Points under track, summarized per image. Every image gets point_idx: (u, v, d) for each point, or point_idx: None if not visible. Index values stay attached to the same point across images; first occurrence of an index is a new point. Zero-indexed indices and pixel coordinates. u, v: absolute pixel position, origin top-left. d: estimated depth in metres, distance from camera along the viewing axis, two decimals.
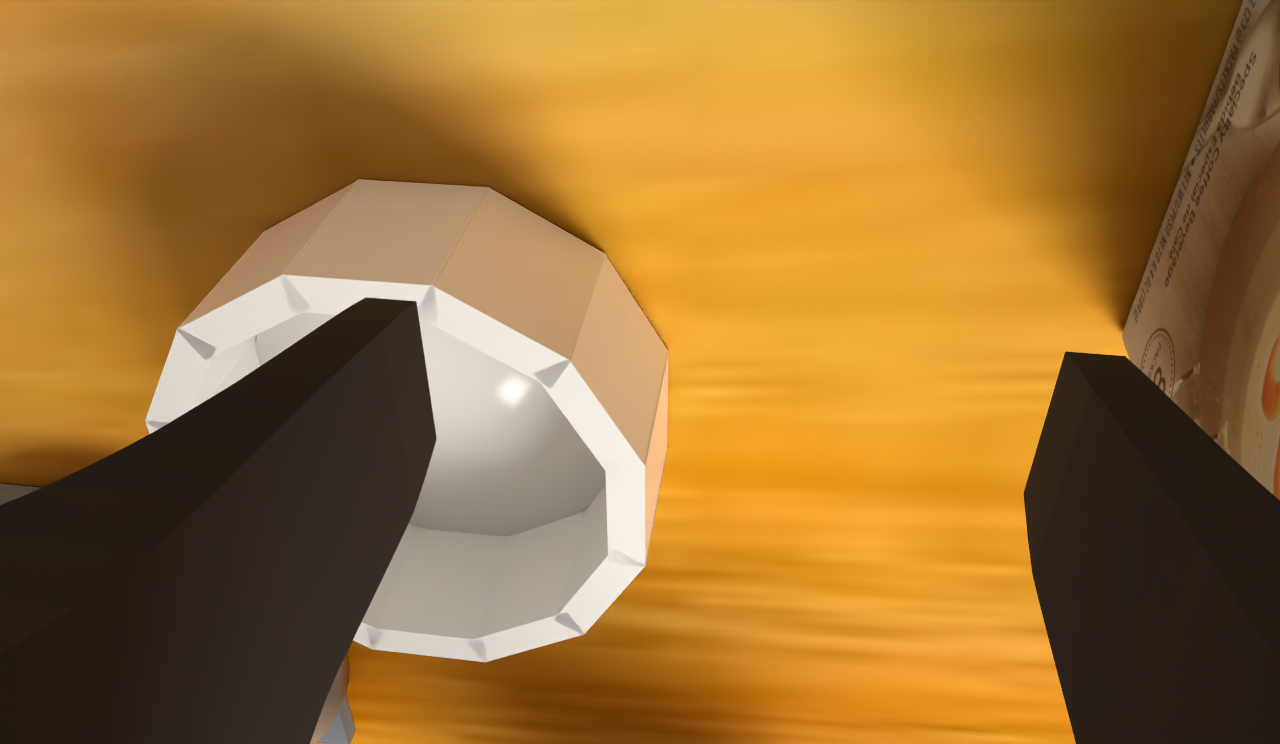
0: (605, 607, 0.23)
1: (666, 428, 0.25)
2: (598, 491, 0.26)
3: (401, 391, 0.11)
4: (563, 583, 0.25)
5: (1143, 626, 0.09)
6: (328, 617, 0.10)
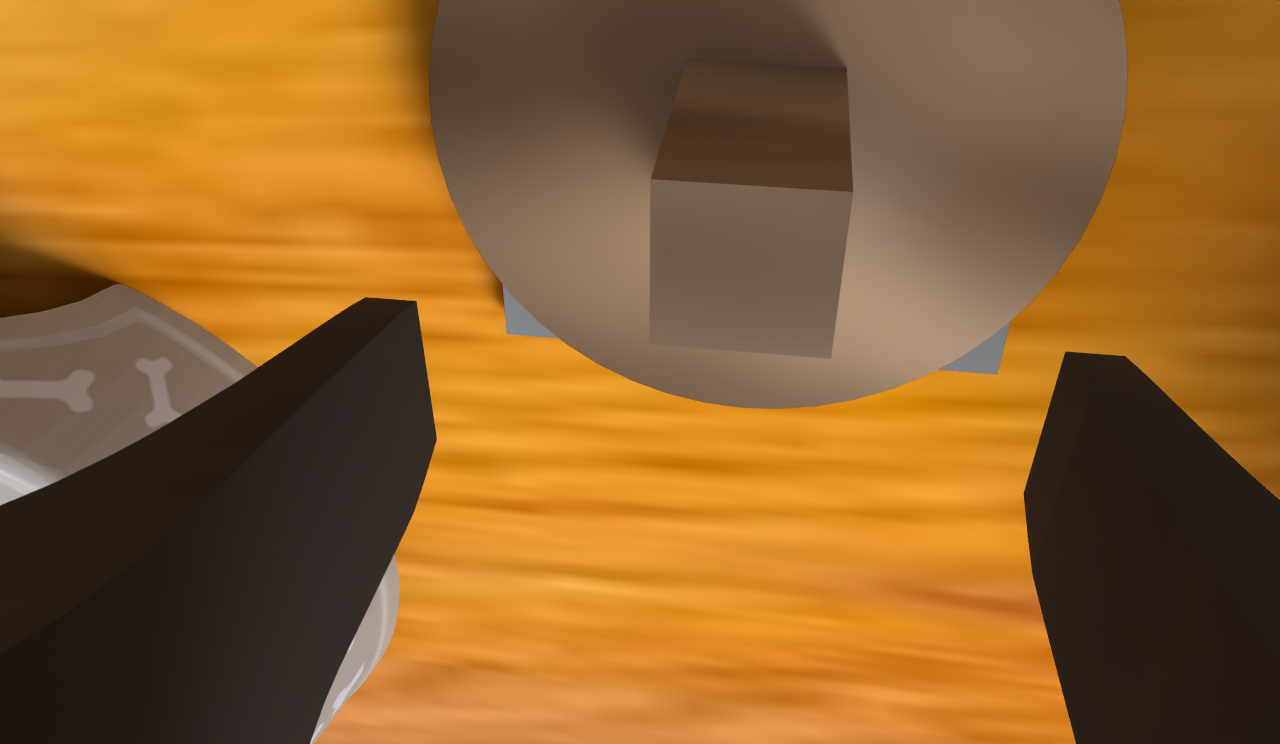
0: None
1: None
2: None
3: (401, 391, 0.11)
4: None
5: (1144, 626, 0.09)
6: (328, 617, 0.10)
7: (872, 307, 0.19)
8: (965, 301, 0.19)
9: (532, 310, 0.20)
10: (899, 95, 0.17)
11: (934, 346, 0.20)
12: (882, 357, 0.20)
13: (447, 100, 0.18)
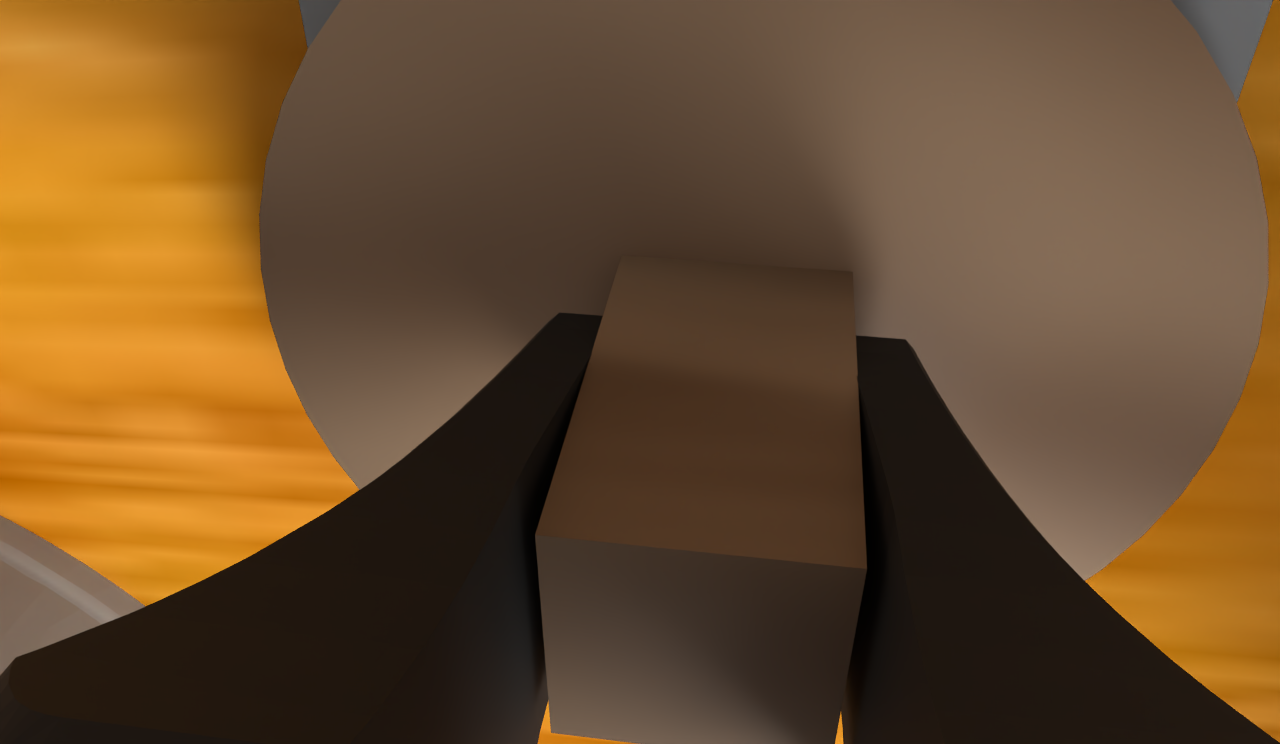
0: None
1: None
2: None
3: None
4: None
5: (870, 598, 0.09)
6: None
7: None
8: None
9: None
10: (927, 308, 0.12)
11: None
12: None
13: (290, 296, 0.13)
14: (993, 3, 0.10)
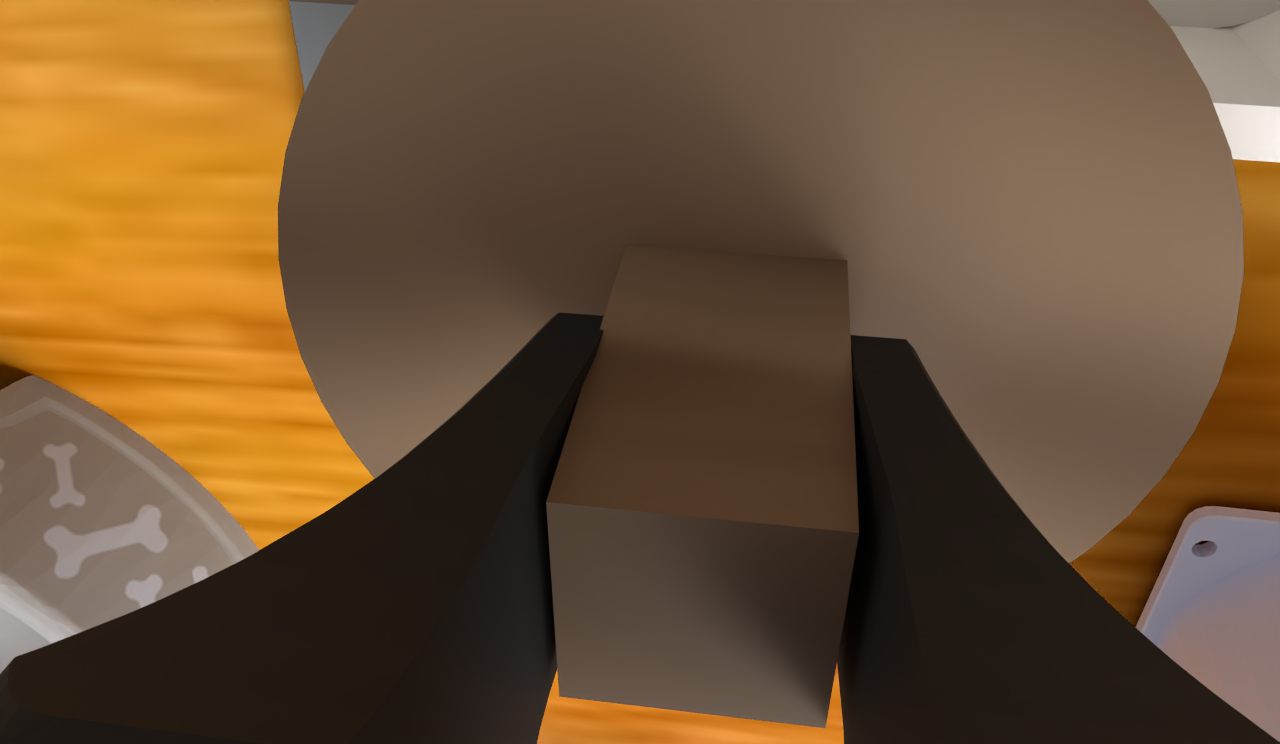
0: None
1: None
2: None
3: None
4: None
5: (872, 598, 0.09)
6: (546, 641, 0.10)
7: None
8: None
9: None
10: (919, 296, 0.12)
11: None
12: None
13: (306, 285, 0.13)
14: (980, 3, 0.10)
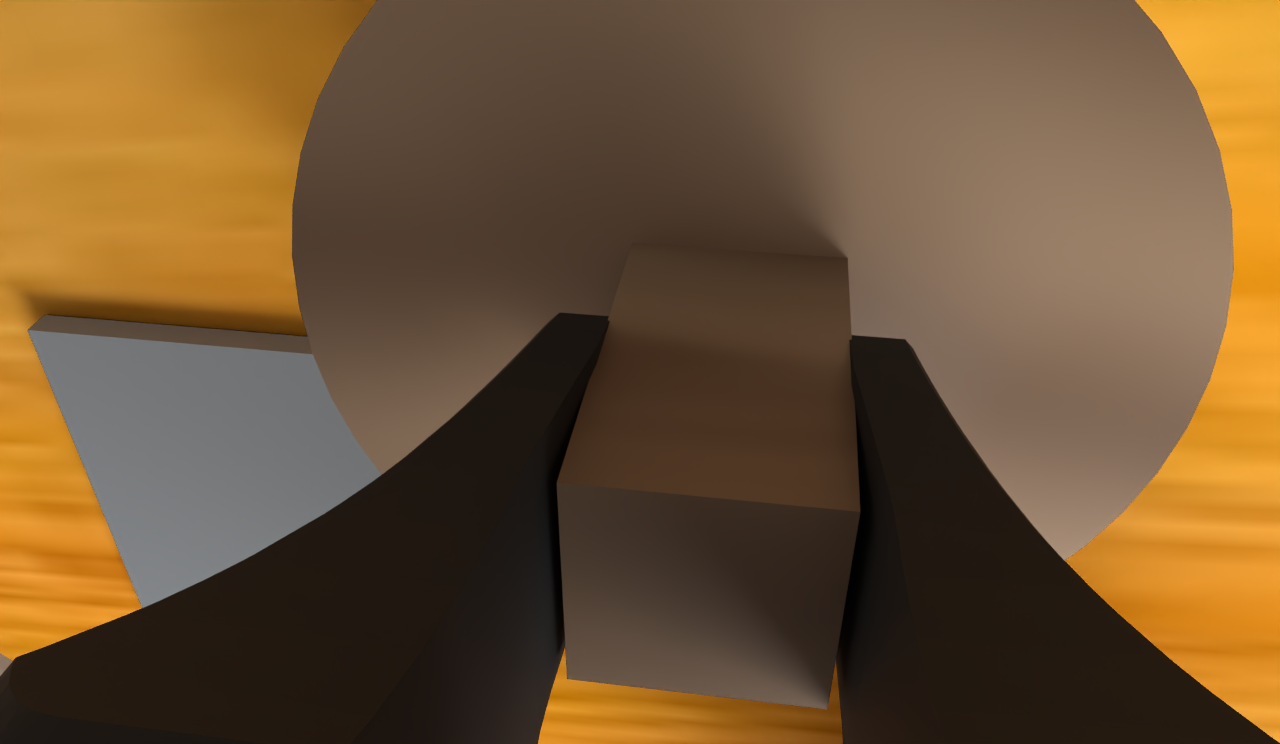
0: None
1: None
2: None
3: None
4: None
5: (870, 597, 0.09)
6: (547, 642, 0.10)
7: None
8: None
9: None
10: (918, 293, 0.13)
11: None
12: None
13: (318, 283, 0.14)
14: (975, 6, 0.11)
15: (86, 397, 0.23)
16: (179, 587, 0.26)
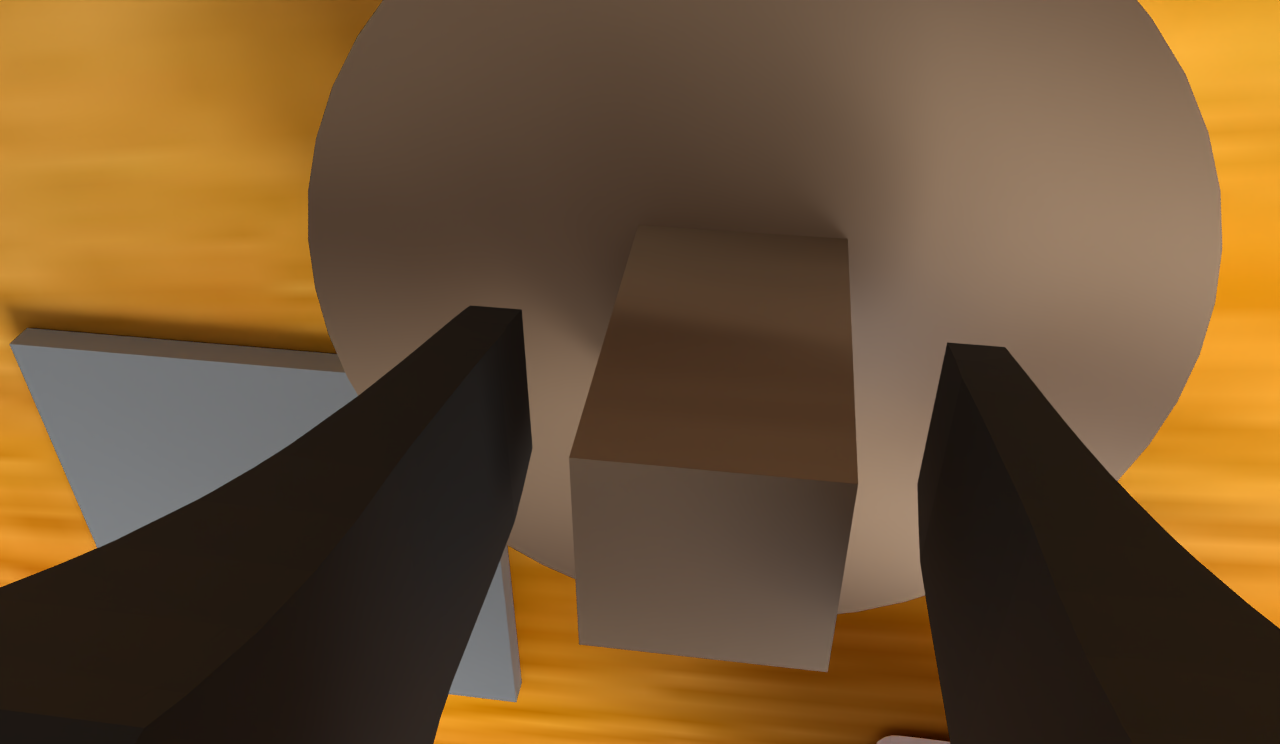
0: None
1: None
2: None
3: (509, 400, 0.11)
4: None
5: (994, 610, 0.09)
6: (446, 630, 0.10)
7: (881, 512, 0.15)
8: None
9: None
10: (916, 272, 0.13)
11: None
12: (892, 567, 0.16)
13: (334, 265, 0.14)
14: None
15: (70, 412, 0.22)
16: None
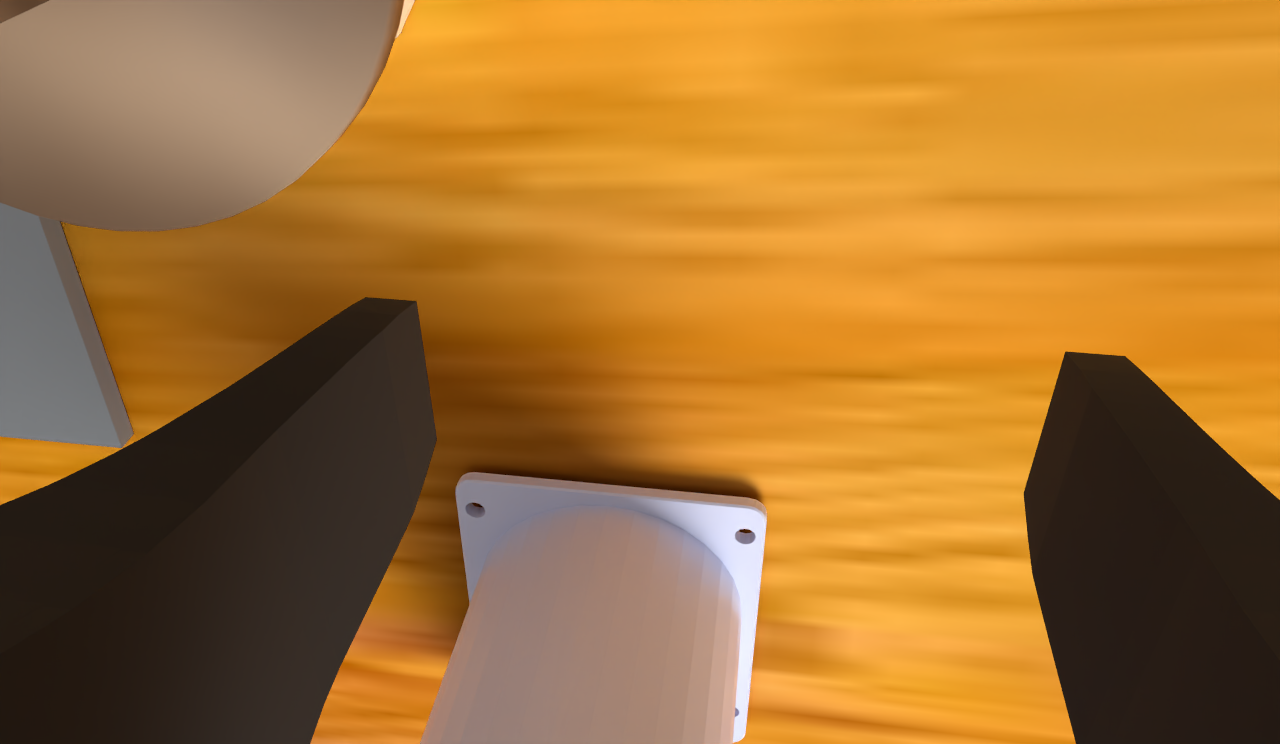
0: None
1: None
2: None
3: (401, 391, 0.11)
4: None
5: (1143, 626, 0.09)
6: (328, 617, 0.10)
7: (206, 93, 0.17)
8: (301, 81, 0.16)
9: None
10: None
11: (290, 143, 0.17)
12: (241, 159, 0.17)
13: None
14: None
15: None
16: None
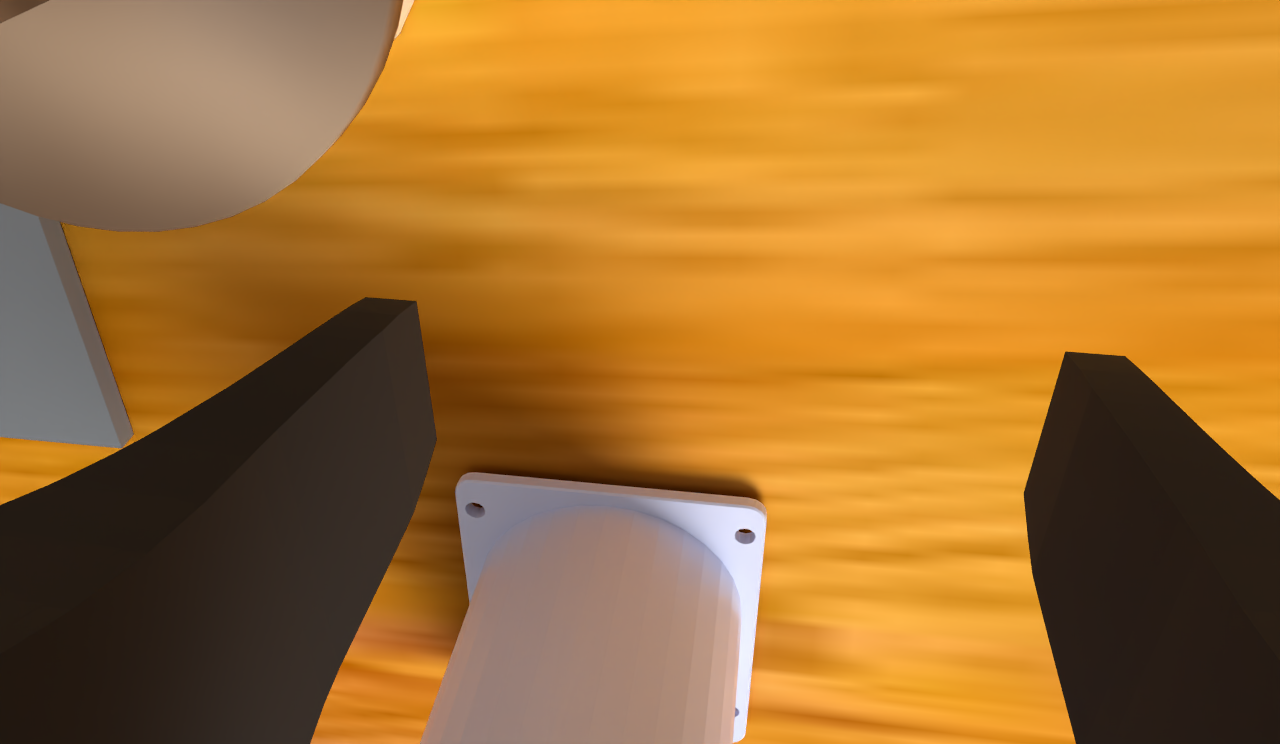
0: None
1: None
2: None
3: (401, 391, 0.11)
4: None
5: (1143, 627, 0.09)
6: (328, 617, 0.10)
7: (206, 94, 0.17)
8: (300, 81, 0.16)
9: None
10: None
11: (289, 143, 0.17)
12: (240, 159, 0.17)
13: None
14: None
15: None
16: None
